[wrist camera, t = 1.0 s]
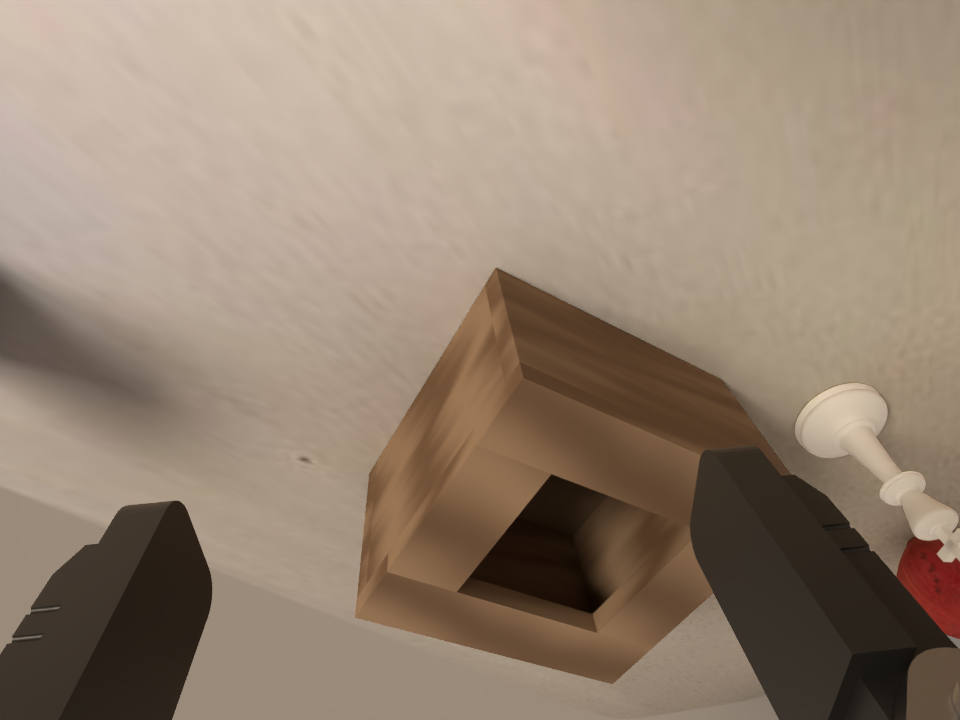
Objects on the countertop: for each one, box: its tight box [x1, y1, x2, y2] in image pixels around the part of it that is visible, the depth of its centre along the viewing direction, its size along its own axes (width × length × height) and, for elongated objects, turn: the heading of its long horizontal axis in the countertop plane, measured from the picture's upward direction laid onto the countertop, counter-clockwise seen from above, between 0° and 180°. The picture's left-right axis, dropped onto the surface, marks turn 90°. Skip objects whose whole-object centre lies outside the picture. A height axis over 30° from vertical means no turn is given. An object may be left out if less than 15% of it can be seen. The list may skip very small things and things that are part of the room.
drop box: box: [355, 268, 791, 684], centre depth 30 cm, size 14×14×9 cm
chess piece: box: [795, 383, 960, 562], centre depth 31 cm, size 5×5×10 cm
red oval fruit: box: [897, 537, 960, 639], centre depth 38 cm, size 6×6×8 cm
